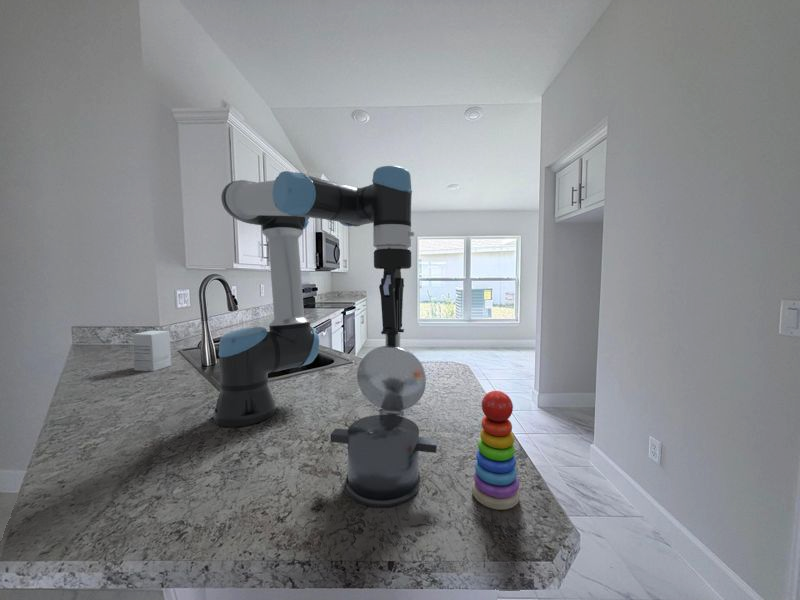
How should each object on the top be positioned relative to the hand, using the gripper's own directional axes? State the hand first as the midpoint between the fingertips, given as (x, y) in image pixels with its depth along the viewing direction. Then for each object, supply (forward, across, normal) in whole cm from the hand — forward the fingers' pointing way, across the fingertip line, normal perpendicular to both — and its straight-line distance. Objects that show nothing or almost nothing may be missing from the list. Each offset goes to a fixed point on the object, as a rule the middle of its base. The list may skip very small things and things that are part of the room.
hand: (393, 364), depth 67 cm
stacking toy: (+20, -8, -20) cm, 29 cm away
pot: (+20, -8, 0) cm, 21 cm away
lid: (+3, -3, 0) cm, 4 cm away
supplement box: (+20, +47, +111) cm, 122 cm away
